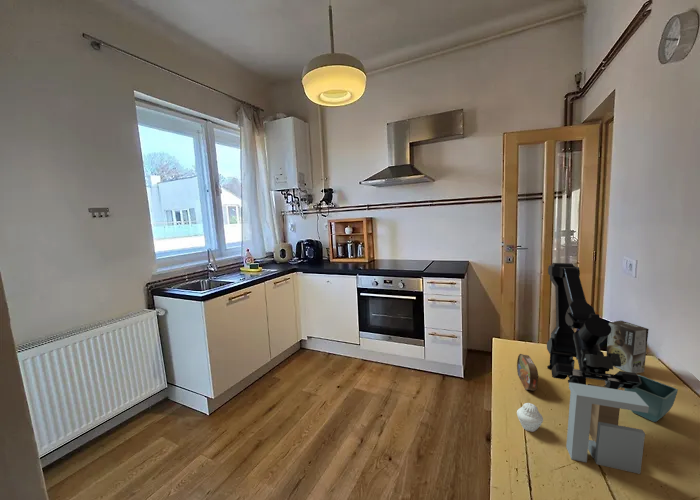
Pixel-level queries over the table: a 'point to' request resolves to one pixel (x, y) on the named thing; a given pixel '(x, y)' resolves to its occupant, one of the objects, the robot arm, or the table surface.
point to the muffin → (529, 417)
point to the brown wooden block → (602, 416)
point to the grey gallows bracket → (604, 428)
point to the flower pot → (655, 398)
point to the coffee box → (628, 345)
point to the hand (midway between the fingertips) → (600, 409)
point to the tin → (527, 372)
